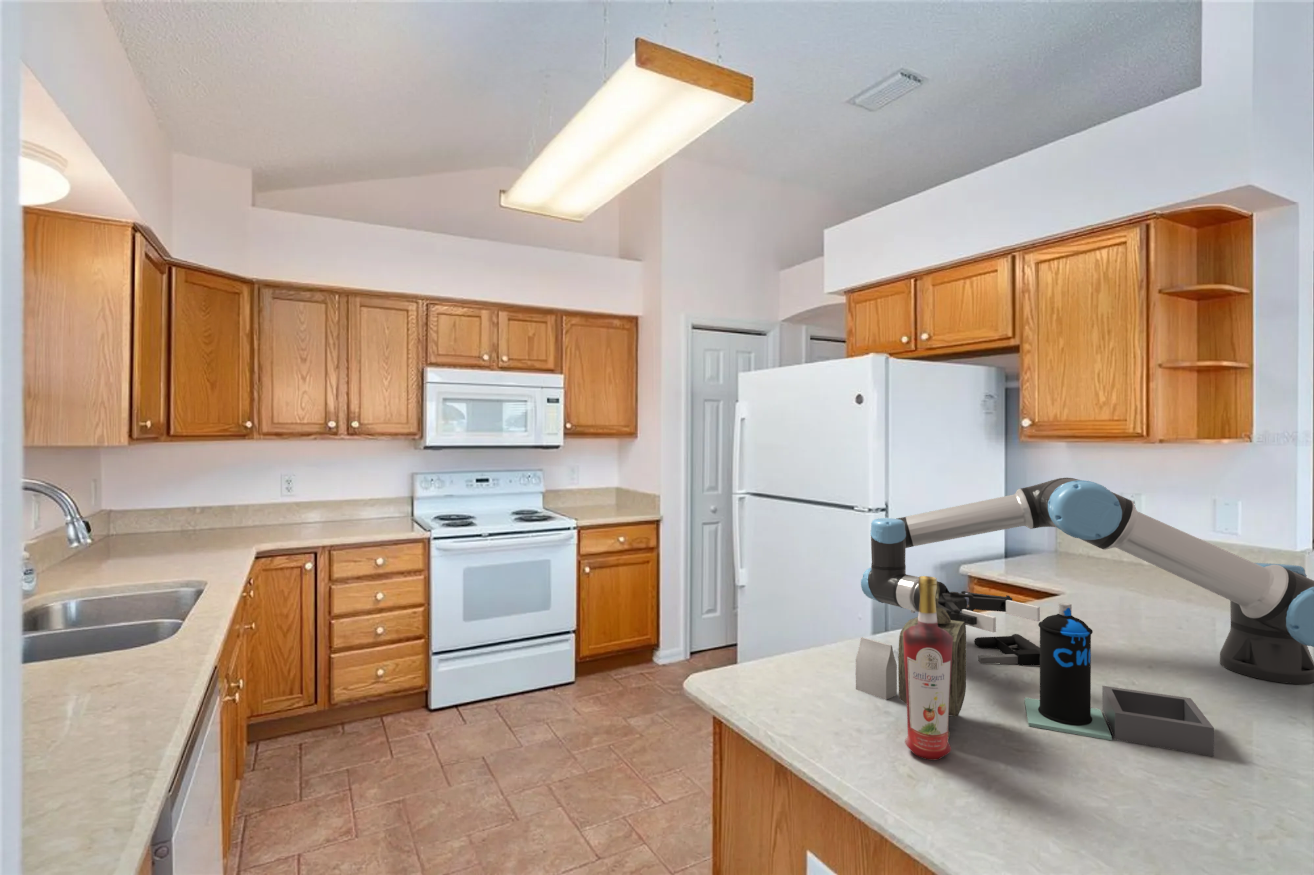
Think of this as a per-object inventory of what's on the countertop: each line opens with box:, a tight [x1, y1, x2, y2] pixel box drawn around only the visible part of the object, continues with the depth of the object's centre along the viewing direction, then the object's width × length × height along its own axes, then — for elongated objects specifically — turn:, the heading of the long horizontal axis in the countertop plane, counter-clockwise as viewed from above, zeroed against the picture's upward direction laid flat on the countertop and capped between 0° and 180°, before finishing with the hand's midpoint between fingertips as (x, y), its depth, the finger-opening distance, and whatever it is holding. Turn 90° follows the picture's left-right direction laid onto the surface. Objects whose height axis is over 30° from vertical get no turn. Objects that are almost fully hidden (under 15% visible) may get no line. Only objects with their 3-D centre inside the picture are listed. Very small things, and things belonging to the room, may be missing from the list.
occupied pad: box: [1024, 697, 1113, 741], centre depth 116 cm, size 12×12×1 cm
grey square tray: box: [1101, 685, 1215, 758], centre depth 111 cm, size 13×13×4 cm
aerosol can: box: [1038, 601, 1094, 725], centre depth 116 cm, size 8×8×20 cm
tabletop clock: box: [897, 580, 967, 739], centre depth 115 cm, size 14×9×25 cm, turn 148°
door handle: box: [973, 633, 1040, 666], centre depth 148 cm, size 3×20×16 cm
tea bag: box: [855, 636, 898, 701], centre depth 129 cm, size 4×7×10 cm, turn 39°
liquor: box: [903, 575, 953, 761], centre depth 104 cm, size 7×7×28 cm
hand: (1017, 619), depth 124 cm, fingers open, 13 cm apart
